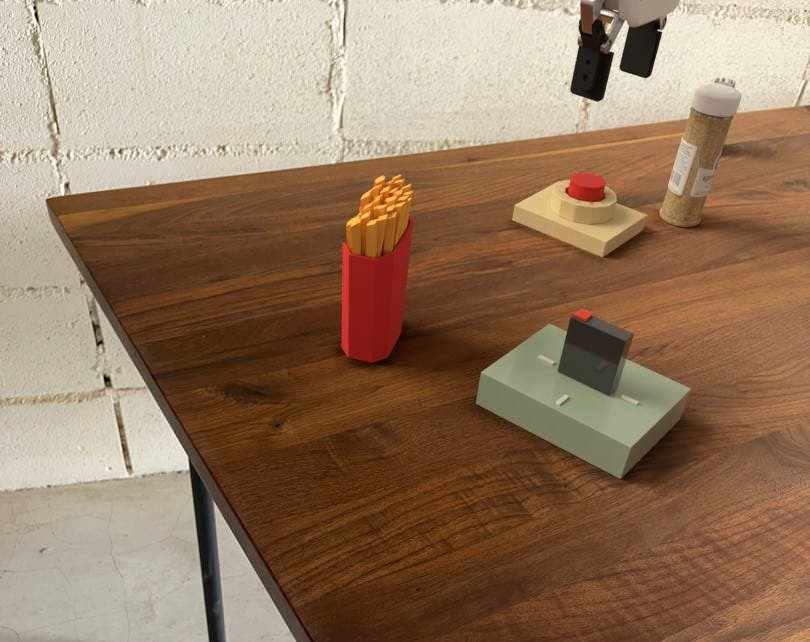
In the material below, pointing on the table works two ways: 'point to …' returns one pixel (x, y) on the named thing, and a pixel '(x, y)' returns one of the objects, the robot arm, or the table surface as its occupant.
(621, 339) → the red-topped dark block
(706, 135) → the spice jar
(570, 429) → the green flat block
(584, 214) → the switch block
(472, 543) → the table surface
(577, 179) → the power button
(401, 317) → the french fries
